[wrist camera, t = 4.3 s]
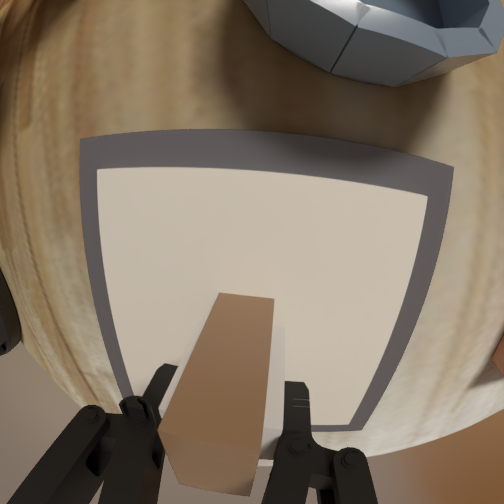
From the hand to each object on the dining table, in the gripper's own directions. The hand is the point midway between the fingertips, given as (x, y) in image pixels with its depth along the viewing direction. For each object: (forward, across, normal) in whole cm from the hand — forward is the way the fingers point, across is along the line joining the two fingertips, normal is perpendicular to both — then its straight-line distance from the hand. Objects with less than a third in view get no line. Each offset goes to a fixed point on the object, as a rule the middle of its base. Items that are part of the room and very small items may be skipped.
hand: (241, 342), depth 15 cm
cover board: (+2, 0, 0) cm, 2 cm away
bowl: (+2, +5, +21) cm, 22 cm away
